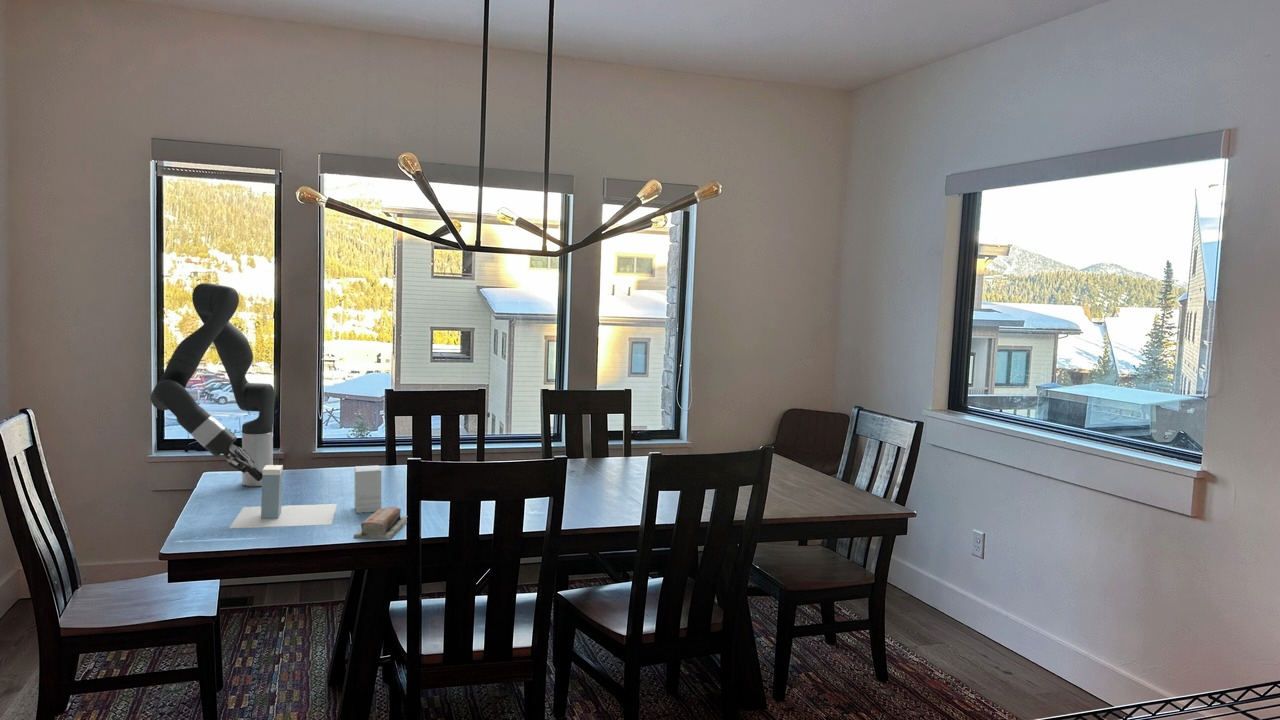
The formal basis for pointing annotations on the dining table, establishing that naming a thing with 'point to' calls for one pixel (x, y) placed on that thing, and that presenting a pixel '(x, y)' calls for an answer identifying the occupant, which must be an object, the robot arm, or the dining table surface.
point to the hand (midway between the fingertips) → (261, 478)
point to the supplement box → (367, 488)
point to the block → (271, 491)
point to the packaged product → (382, 524)
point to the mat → (287, 516)
